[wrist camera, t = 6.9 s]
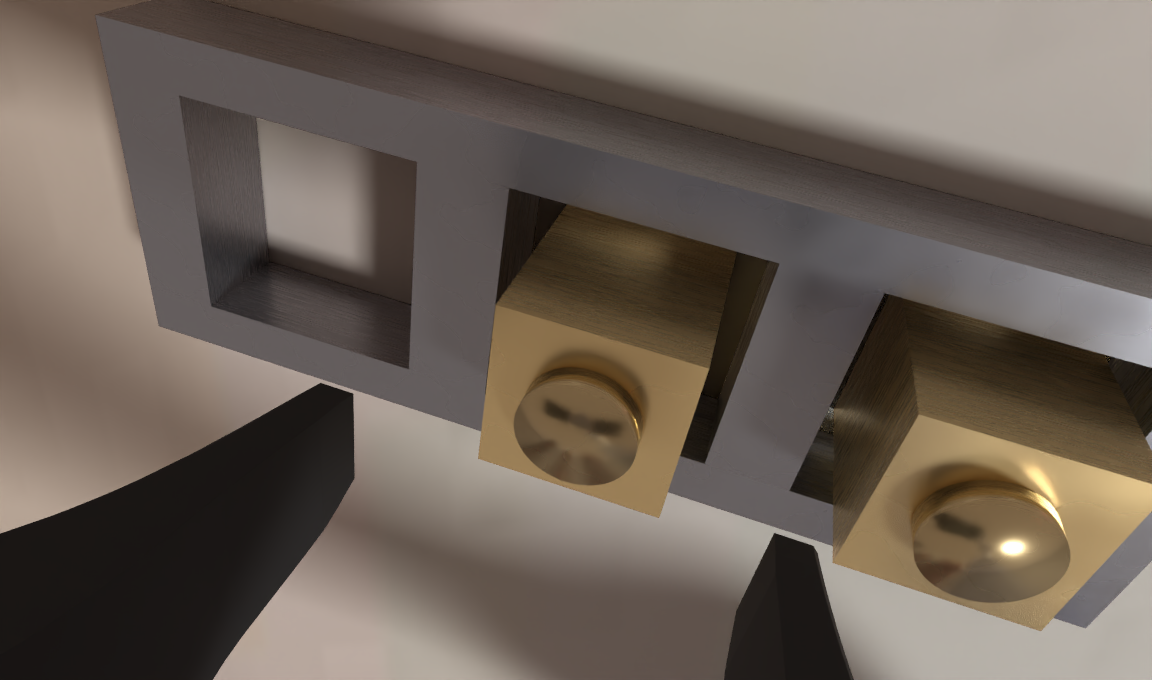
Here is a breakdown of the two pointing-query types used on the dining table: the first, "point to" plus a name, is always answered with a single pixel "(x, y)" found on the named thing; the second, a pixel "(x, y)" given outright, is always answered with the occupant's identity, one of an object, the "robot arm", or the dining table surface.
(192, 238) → the rack rail
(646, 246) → the knobbed gold cube
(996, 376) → the gold knobbed block
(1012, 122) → the dining table surface
